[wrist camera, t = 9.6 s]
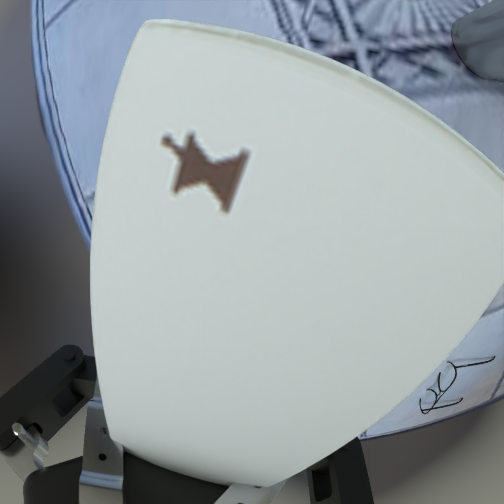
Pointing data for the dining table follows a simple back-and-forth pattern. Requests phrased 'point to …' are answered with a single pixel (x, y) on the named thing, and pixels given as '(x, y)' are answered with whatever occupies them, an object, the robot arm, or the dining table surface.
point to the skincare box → (275, 252)
